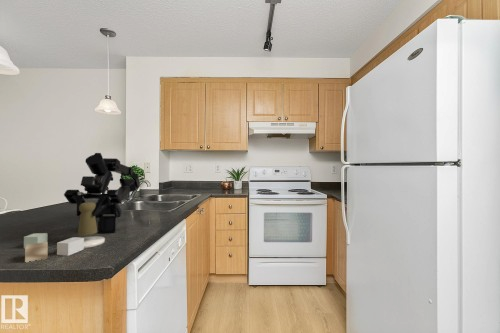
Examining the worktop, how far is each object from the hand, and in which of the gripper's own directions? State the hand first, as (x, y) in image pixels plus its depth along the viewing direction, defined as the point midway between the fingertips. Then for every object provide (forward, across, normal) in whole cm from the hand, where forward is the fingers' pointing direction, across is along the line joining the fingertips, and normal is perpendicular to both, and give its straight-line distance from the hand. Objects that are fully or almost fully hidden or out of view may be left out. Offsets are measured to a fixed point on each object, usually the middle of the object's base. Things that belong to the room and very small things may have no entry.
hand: (85, 215), depth 87 cm
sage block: (+8, -16, +7) cm, 19 cm away
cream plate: (+7, 0, +8) cm, 10 cm away
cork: (+4, 0, +6) cm, 7 cm away
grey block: (+13, 0, +2) cm, 13 cm away
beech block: (+16, -8, -1) cm, 18 cm away
